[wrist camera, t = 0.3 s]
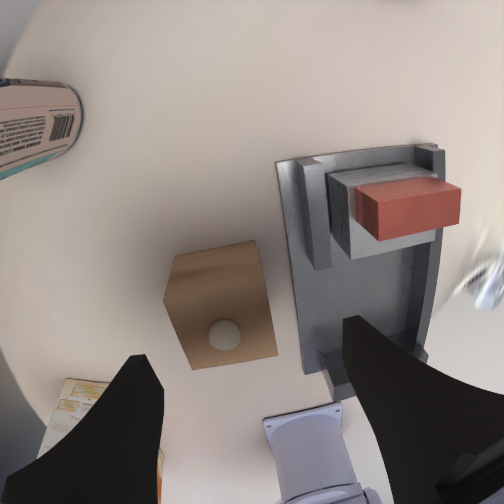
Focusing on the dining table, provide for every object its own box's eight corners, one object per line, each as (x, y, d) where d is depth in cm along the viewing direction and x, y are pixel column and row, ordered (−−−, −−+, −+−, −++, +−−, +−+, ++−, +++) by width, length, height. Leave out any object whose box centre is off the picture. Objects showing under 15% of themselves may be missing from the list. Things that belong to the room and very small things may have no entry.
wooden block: (266, 305, 21) (280, 362, 16) (196, 318, 21) (191, 377, 16) (254, 239, 19) (266, 288, 14) (175, 255, 19) (160, 307, 14)
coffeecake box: (166, 457, 30) (162, 597, 12) (112, 452, 29) (96, 584, 12) (131, 382, 24) (100, 596, 6) (64, 376, 23) (9, 559, 5)
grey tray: (417, 337, 24) (438, 366, 21) (303, 370, 24) (314, 407, 21) (433, 143, 17) (472, 154, 13) (275, 161, 17) (290, 175, 13)
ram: (409, 222, 18) (459, 259, 13) (332, 238, 18) (370, 284, 13) (409, 163, 17) (466, 185, 12) (327, 173, 17) (369, 201, 12)
